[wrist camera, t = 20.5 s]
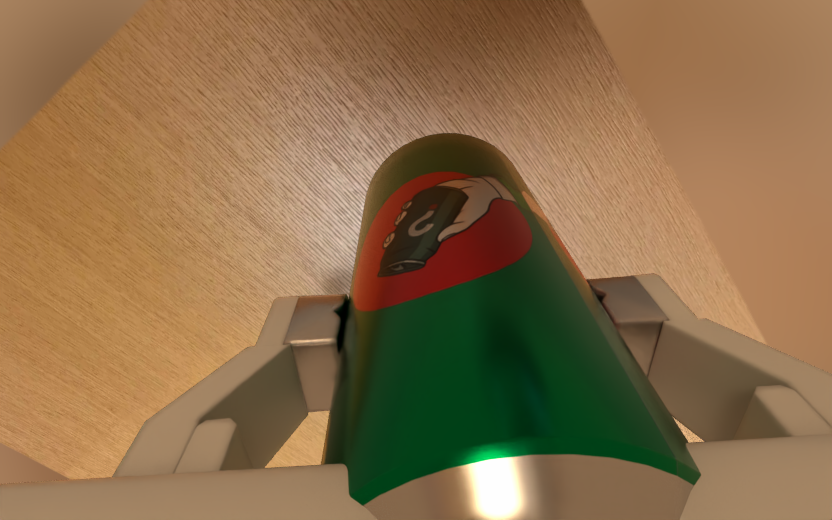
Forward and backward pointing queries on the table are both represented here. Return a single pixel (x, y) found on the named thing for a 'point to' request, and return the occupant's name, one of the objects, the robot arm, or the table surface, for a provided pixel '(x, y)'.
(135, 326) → the table surface
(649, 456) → the soda can
